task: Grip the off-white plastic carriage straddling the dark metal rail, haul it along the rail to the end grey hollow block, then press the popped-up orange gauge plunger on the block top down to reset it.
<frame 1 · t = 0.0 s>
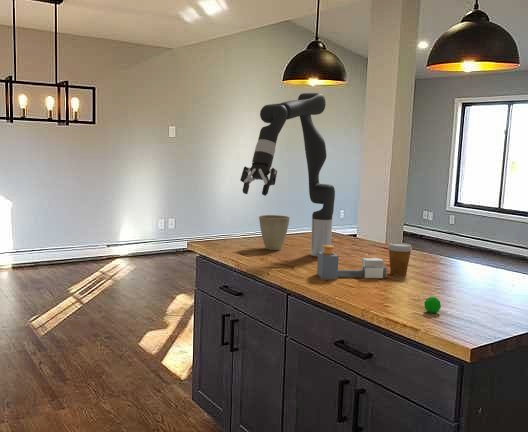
hand: (254, 194, 212), 31 cm above the counter, tool tilted 20°, fingers open, 8 cm apart
plant pot: (273, 249, 276), on the counter
polyhedron: (431, 313, 175), on the counter
carriage: (372, 267, 222), point 4 cm above the counter, slide at 0.0 cm
grey hollow block: (327, 276, 220), on the counter
rail: (358, 276, 221), on the counter
plunger: (328, 251, 219), point 10 cm above the counter, slide at 0.0 cm
disposable coffee cup: (398, 274, 230), on the counter
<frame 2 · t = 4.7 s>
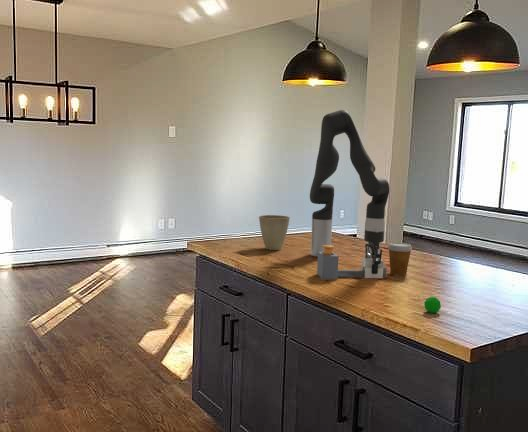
hand: (372, 271, 222), 2 cm above the counter, tool pointing down, fingers closed on carriage, 5 cm apart
carriage: (372, 267, 222), point 4 cm above the counter, slide at 0.0 cm, touching gripper
everything else where it was.
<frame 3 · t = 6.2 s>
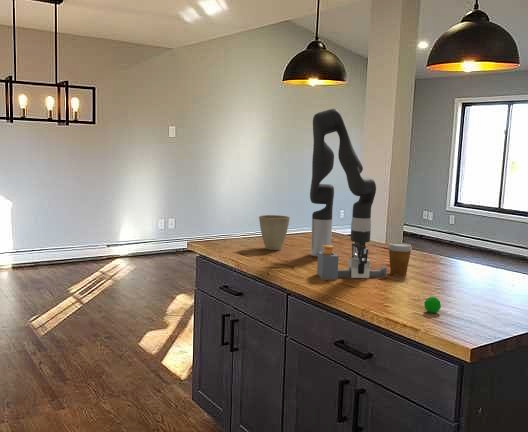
hand: (358, 271, 221), 2 cm above the counter, tool pointing down, fingers closed on carriage, 5 cm apart
carriage: (358, 267, 221), point 4 cm above the counter, slide at 5.4 cm, touching gripper
everything else where it was.
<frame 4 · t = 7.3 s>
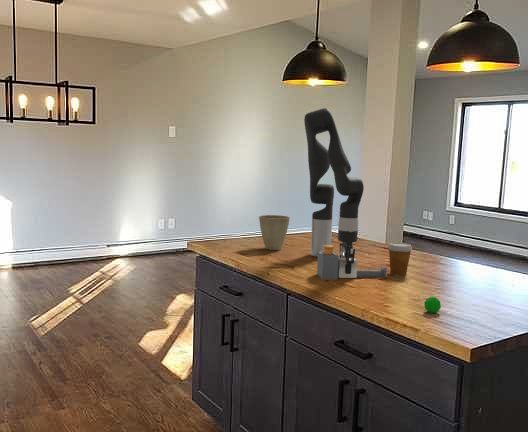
hand: (345, 271, 220), 2 cm above the counter, tool pointing down, fingers closed on carriage, 5 cm apart
carriage: (346, 267, 220), point 4 cm above the counter, slide at 10.5 cm, touching gripper
everything else where it was.
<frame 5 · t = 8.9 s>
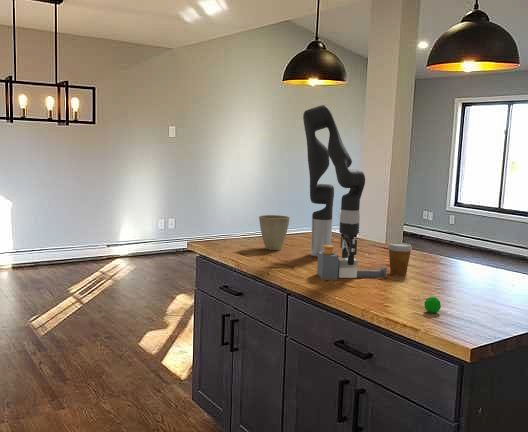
hand: (347, 262, 220), 6 cm above the counter, tool pointing down, fingers open, 8 cm apart
carriage: (346, 267, 220), point 4 cm above the counter, slide at 10.5 cm
everything else where it was.
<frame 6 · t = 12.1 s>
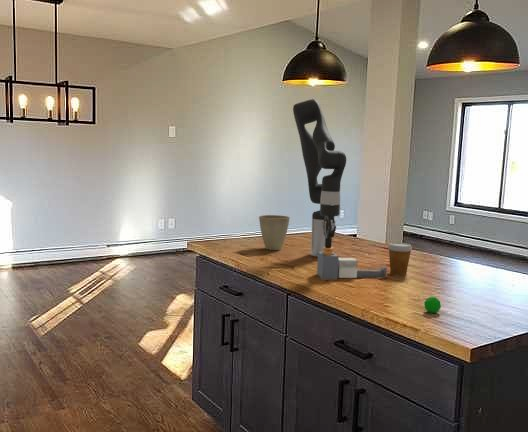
hand: (328, 247, 218), 11 cm above the counter, tool pointing down, fingers closed
plunger: (328, 253, 219), point 9 cm above the counter, slide at 0.7 cm, touching gripper
everything else where it was.
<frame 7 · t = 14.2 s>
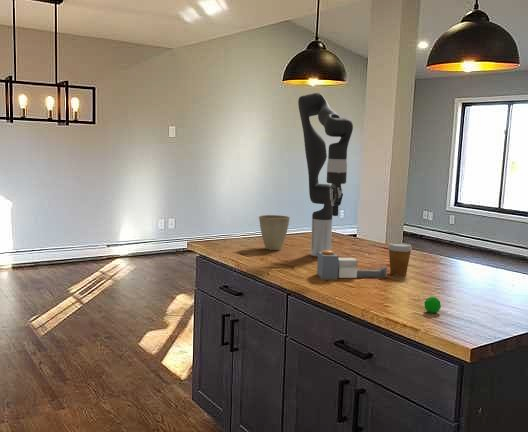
hand: (334, 215, 219), 24 cm above the counter, tool pointing down, fingers closed
plunger: (327, 257, 219), point 8 cm above the counter, slide at 2.1 cm
everything else where it was.
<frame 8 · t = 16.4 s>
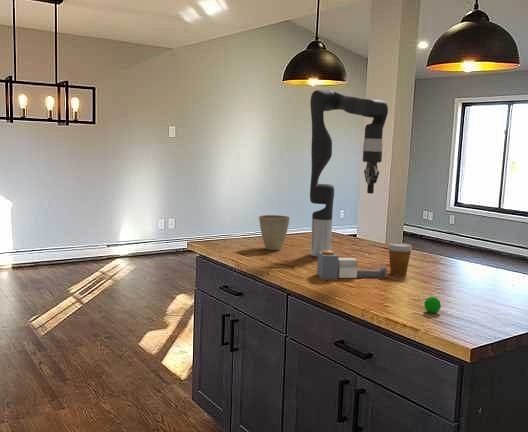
hand: (370, 193, 229), 32 cm above the counter, tool pointing down, fingers closed
nothing on the counter moved.
at the end: carriage slide at 10.5 cm; plunger slide at 2.1 cm; the gripper is holding nothing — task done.
